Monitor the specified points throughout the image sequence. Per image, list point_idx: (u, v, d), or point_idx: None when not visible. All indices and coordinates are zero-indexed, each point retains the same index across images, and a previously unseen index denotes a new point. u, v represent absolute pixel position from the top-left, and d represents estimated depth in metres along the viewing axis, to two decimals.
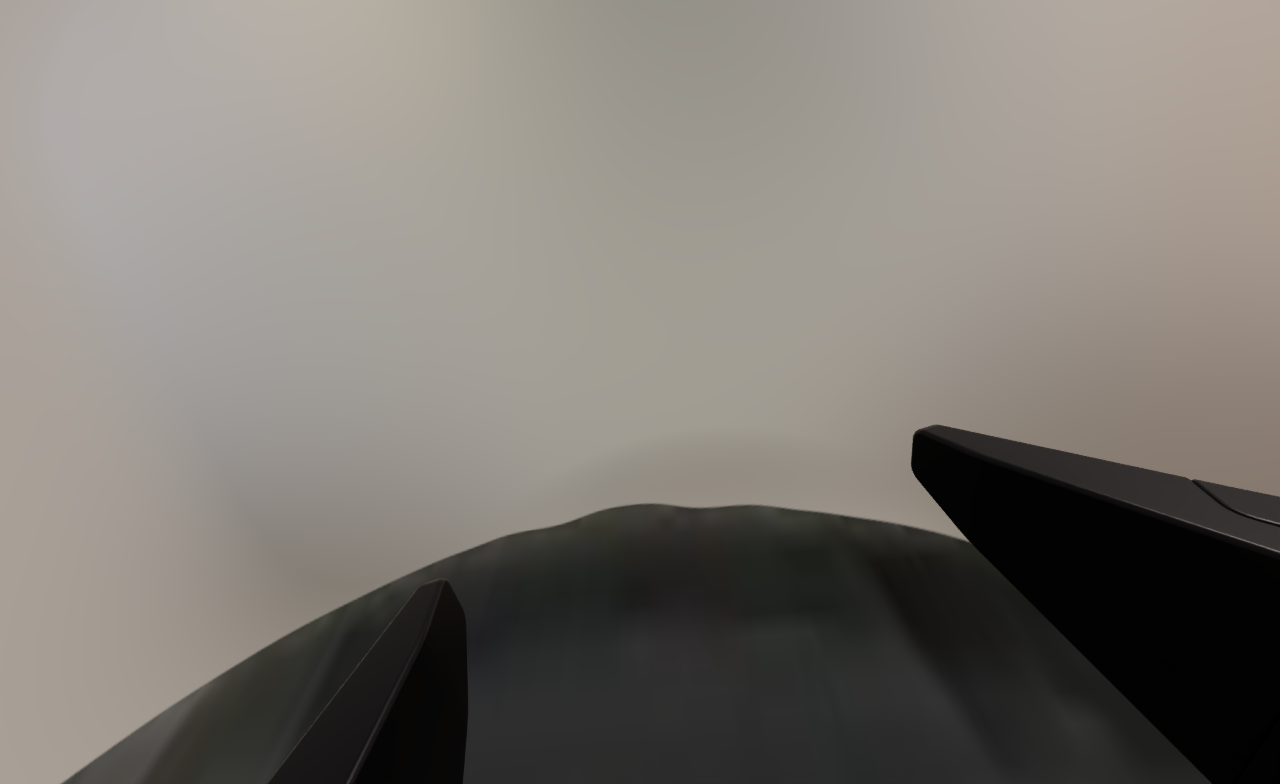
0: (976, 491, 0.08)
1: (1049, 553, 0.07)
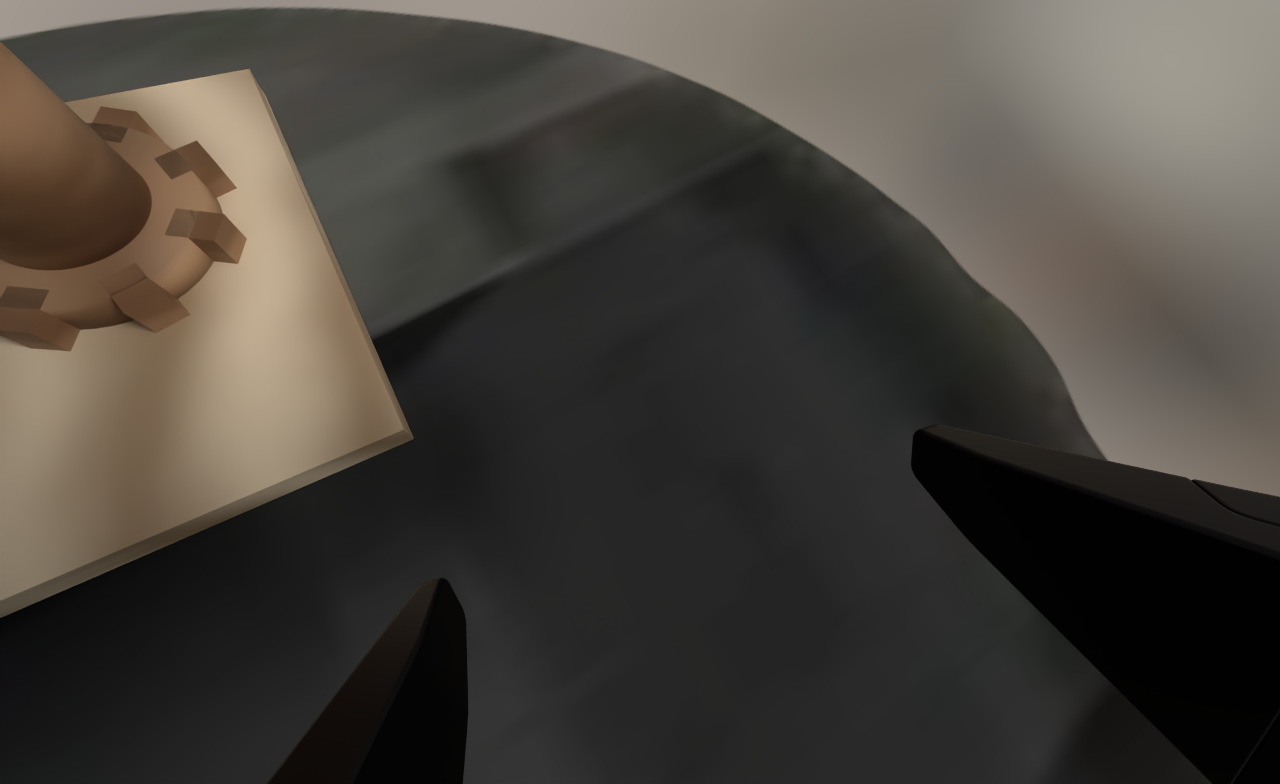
0: (976, 491, 0.08)
1: (1049, 553, 0.07)
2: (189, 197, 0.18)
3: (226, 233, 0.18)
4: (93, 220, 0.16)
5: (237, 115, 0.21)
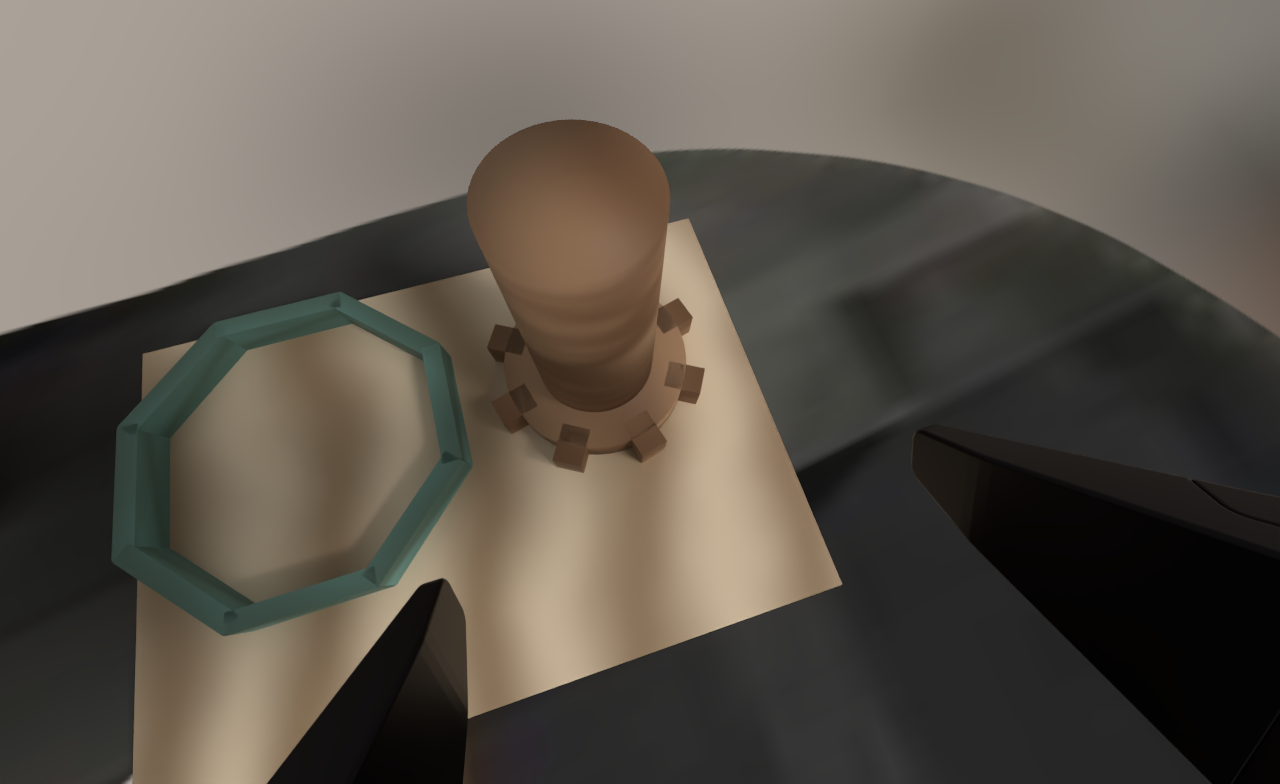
0: (976, 491, 0.08)
1: (1049, 553, 0.07)
2: (678, 351, 0.22)
3: None
4: (638, 382, 0.20)
5: (683, 262, 0.25)
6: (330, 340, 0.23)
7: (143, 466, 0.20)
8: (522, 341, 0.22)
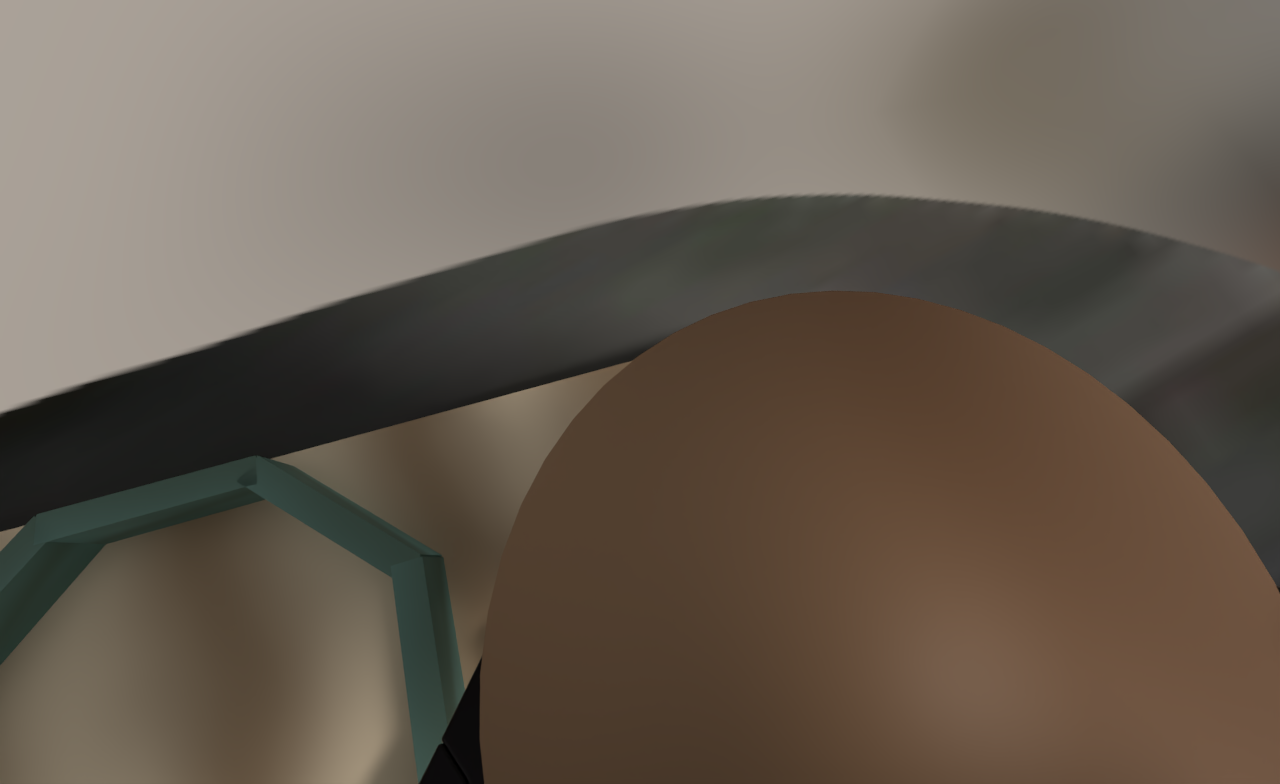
0: None
1: None
2: None
3: None
4: None
5: None
6: (245, 526, 0.14)
7: None
8: None
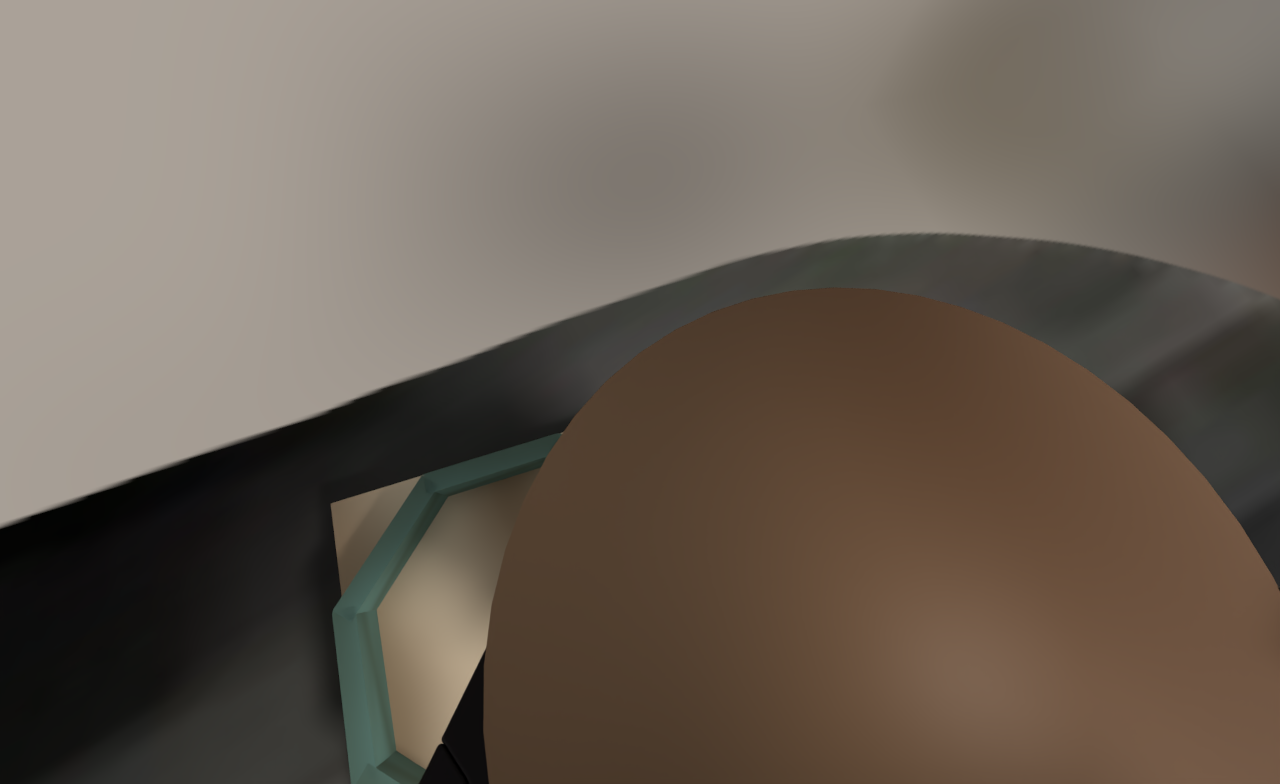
0: None
1: None
2: None
3: None
4: None
5: None
6: None
7: (366, 658, 0.17)
8: None
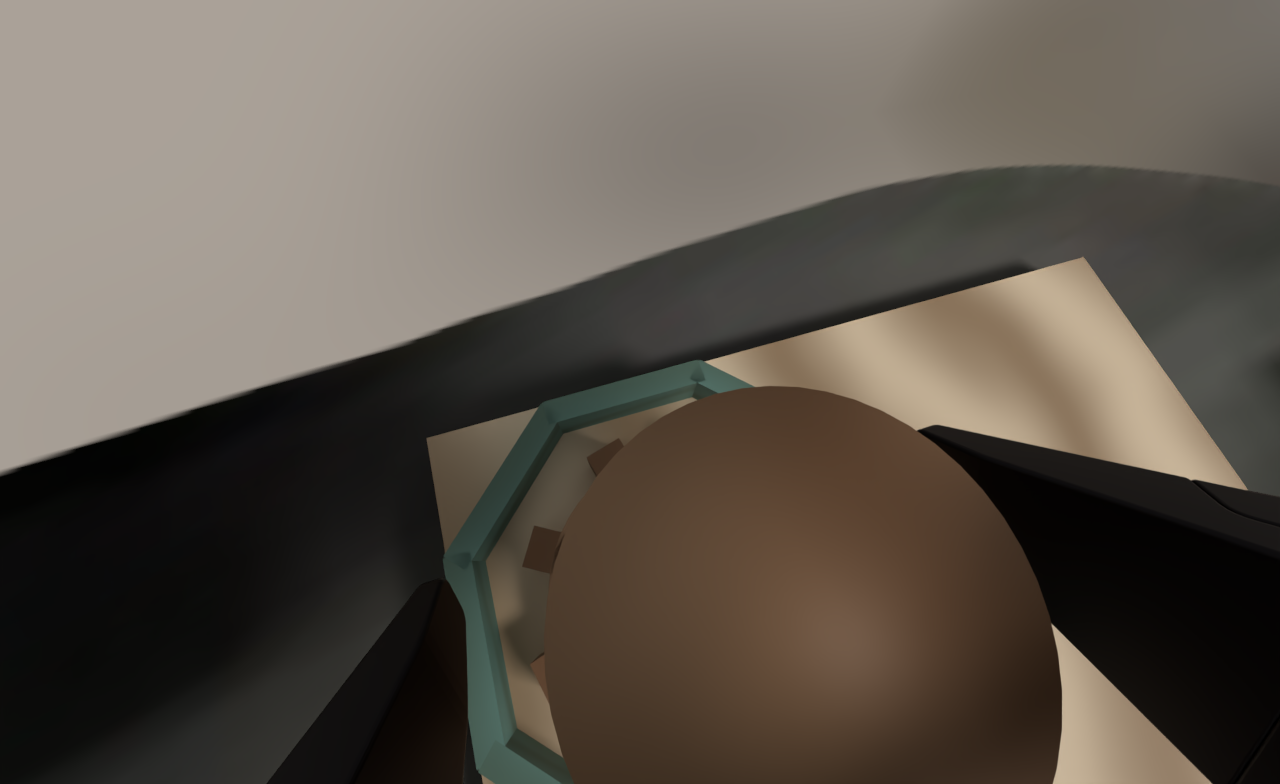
0: None
1: (1049, 553, 0.07)
2: None
3: None
4: None
5: (1096, 316, 0.19)
6: None
7: (484, 614, 0.14)
8: None
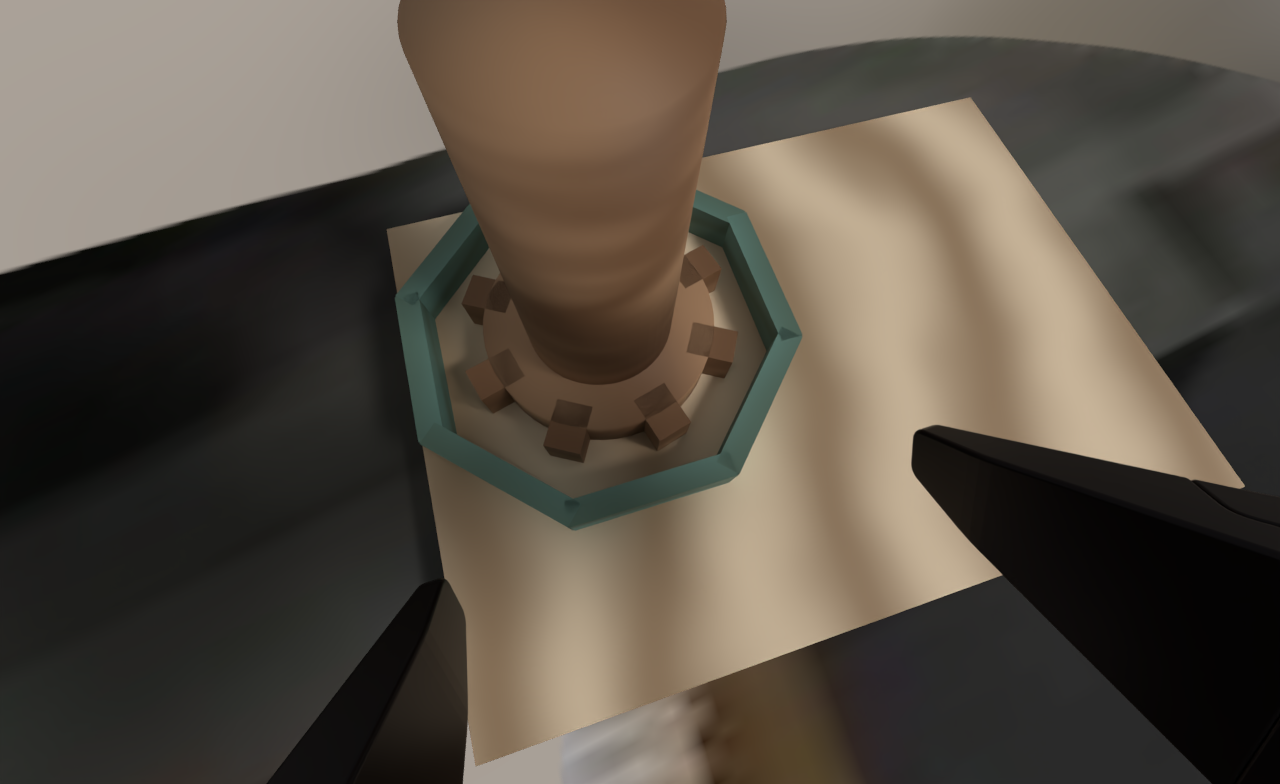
0: (976, 491, 0.08)
1: (1049, 553, 0.07)
2: (704, 310, 0.17)
3: None
4: (655, 344, 0.15)
5: (976, 142, 0.22)
6: None
7: (429, 341, 0.17)
8: (506, 296, 0.17)
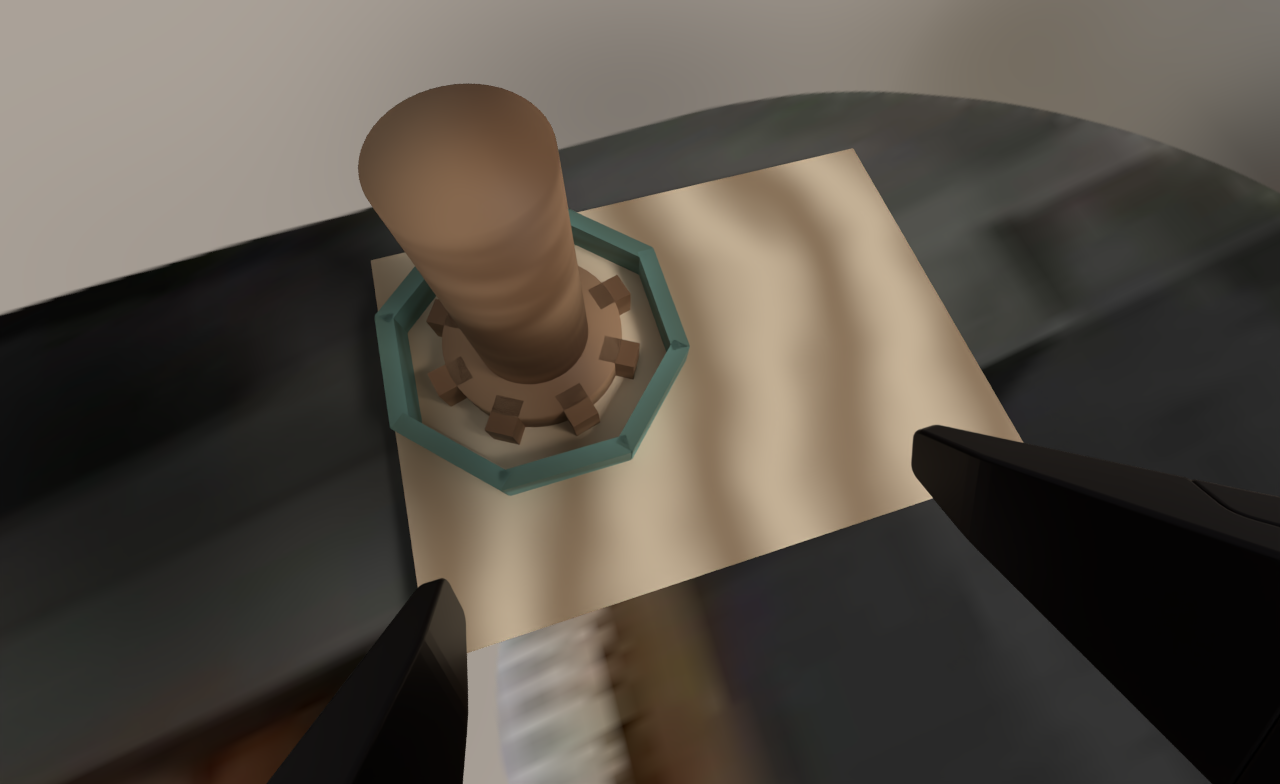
0: (976, 491, 0.08)
1: (1049, 553, 0.07)
2: (614, 326, 0.22)
3: (636, 358, 0.22)
4: (568, 353, 0.20)
5: (854, 186, 0.27)
6: None
7: (400, 350, 0.22)
8: None
